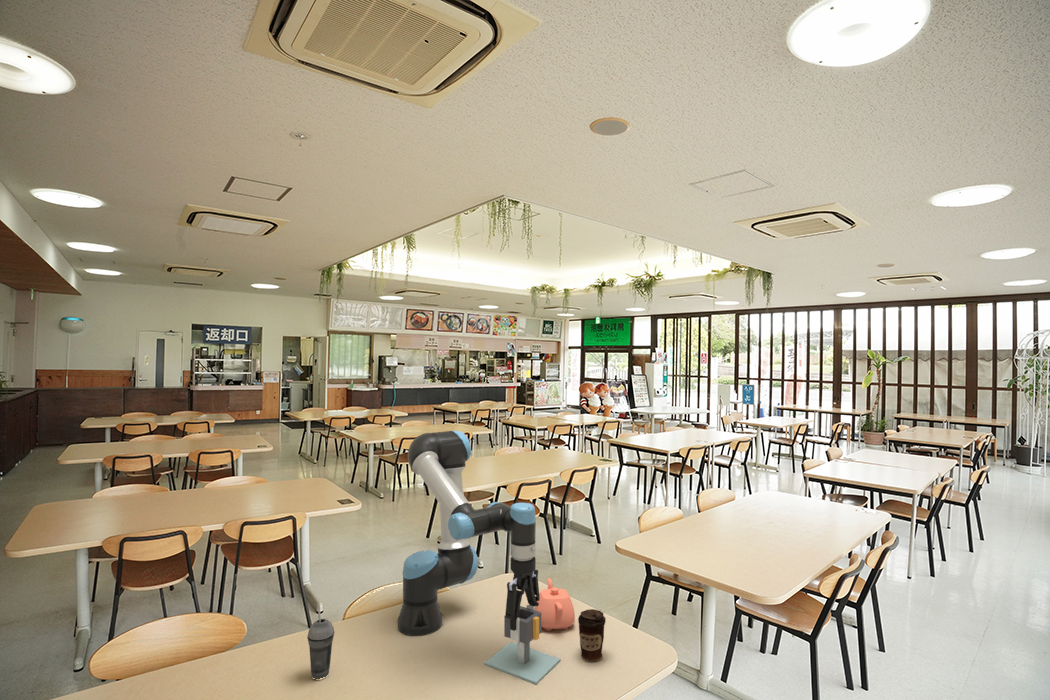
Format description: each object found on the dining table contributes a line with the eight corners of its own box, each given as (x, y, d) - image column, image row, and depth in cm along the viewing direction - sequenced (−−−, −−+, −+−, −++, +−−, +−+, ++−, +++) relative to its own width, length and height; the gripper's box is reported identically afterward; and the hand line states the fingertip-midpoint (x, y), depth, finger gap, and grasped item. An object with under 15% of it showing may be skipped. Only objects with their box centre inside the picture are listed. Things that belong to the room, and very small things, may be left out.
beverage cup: (317, 686, 144) (318, 612, 144) (301, 678, 147) (302, 606, 148) (339, 673, 150) (340, 602, 150) (323, 665, 154) (324, 596, 154)
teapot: (566, 608, 190) (566, 575, 191) (580, 636, 170) (580, 599, 171) (530, 611, 188) (530, 577, 189) (540, 639, 168) (540, 601, 169)
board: (484, 664, 154) (484, 638, 155) (511, 643, 166) (511, 619, 166) (536, 684, 145) (536, 656, 145) (560, 660, 156) (560, 635, 157)
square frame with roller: (504, 636, 154) (504, 615, 155) (519, 625, 161) (519, 605, 161) (530, 645, 149) (530, 624, 150) (544, 633, 156) (544, 613, 156)
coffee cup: (605, 666, 153) (604, 621, 154) (576, 663, 155) (576, 619, 155) (606, 650, 162) (606, 608, 162) (579, 648, 163) (579, 606, 164)
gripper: (514, 570, 146) (514, 653, 145) (551, 548, 163) (551, 622, 162) (492, 565, 150) (492, 645, 149) (530, 544, 167) (531, 616, 166)
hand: (523, 633), depth 156 cm, fingers closed on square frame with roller, 8 cm apart
